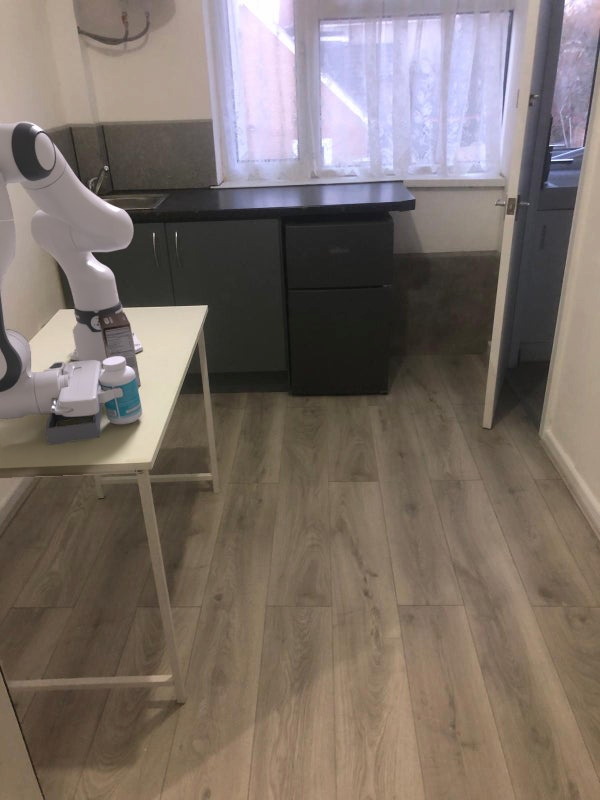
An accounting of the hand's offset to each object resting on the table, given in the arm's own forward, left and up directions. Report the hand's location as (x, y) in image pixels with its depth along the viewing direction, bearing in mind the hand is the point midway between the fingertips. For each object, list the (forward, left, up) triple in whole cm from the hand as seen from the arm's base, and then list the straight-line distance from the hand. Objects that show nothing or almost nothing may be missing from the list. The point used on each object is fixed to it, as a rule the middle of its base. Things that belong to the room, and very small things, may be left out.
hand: (122, 382), depth 136 cm
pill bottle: (0, -1, -8) cm, 9 cm away
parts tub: (-2, -11, -9) cm, 15 cm away
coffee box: (-21, -1, -9) cm, 23 cm away
